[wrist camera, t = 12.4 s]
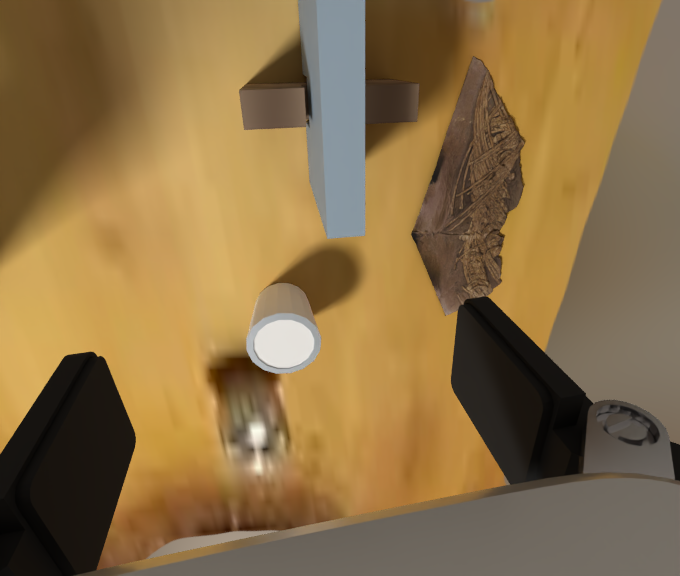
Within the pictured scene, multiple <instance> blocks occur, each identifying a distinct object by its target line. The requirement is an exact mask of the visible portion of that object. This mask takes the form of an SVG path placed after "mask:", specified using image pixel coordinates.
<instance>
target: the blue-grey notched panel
mask: <svg viewBox="0 0 680 576" xmlns="http://www.w3.org/2000/svg"><path fill="white" fill-rule="evenodd" d="M298 7H299V22H300V38H301V54H302V69H303V75H305V76H307V90H308V106H309V121H308V122H306V125H307V127H306V131H307V147H308V163H309V178H310V184H311V188H312V191H313V194H314V197H315V200H316V204H317V207H318V210H319V213H320V216H321V220H322V223H323V226H324V229H325V232H326V236H327V239H329V238H341V237H354V236H365V0H298Z"/></svg>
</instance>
